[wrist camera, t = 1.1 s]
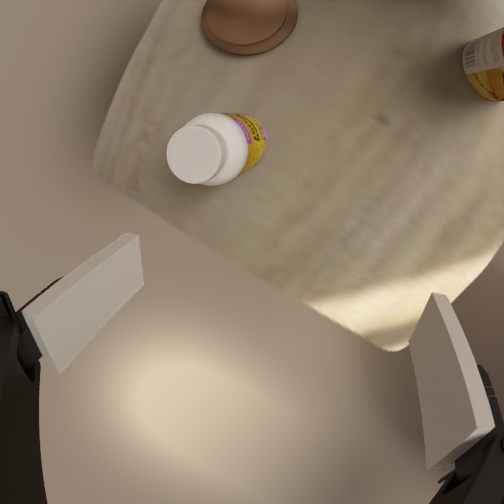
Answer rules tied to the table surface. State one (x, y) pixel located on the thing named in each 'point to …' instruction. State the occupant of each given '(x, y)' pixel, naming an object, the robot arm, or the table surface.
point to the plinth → (248, 24)
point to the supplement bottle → (216, 148)
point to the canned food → (486, 65)
